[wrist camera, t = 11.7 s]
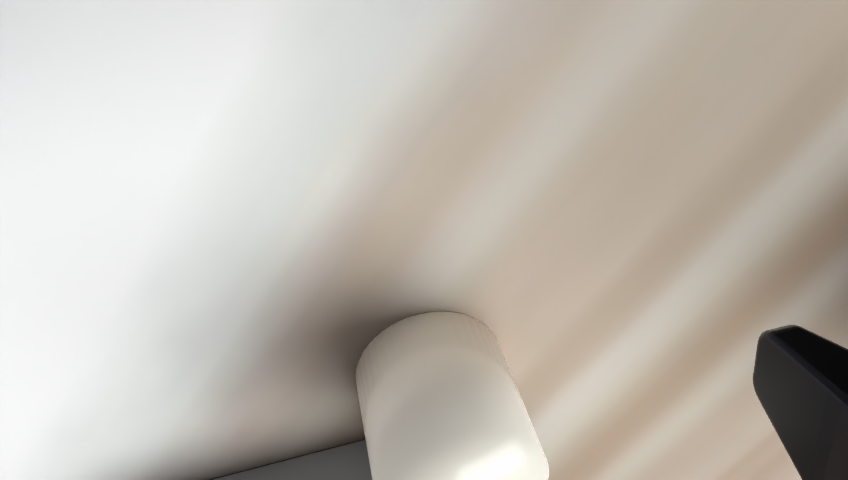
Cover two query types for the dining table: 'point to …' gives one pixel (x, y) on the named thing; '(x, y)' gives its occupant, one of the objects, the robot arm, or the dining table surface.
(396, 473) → the ivory round canister
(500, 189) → the dining table surface
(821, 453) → the robot arm
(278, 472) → the gray tray
